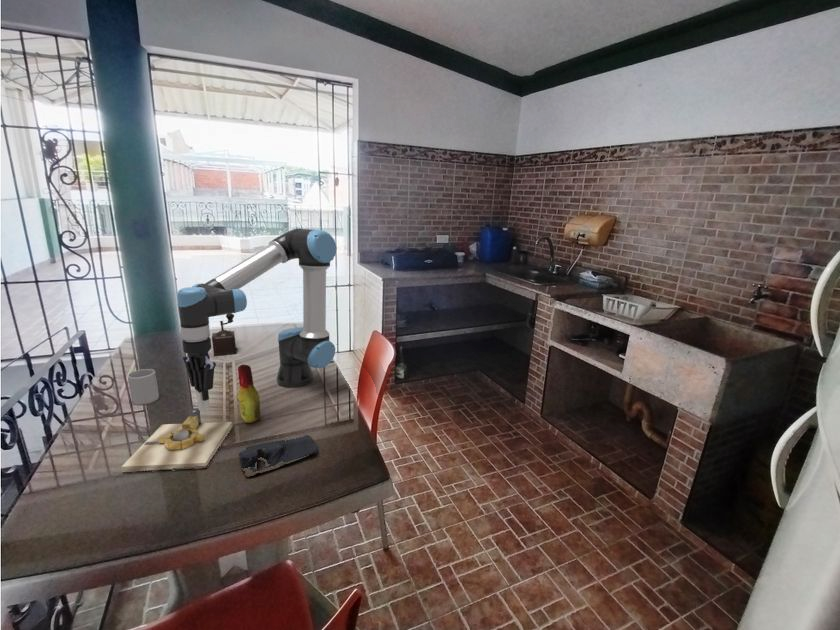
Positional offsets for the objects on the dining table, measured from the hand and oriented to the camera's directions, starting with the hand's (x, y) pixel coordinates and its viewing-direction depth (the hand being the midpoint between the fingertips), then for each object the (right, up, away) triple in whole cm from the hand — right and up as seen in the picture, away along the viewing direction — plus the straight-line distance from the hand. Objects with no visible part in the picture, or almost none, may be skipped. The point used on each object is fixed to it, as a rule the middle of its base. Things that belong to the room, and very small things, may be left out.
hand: (204, 408), depth 125 cm
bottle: (+9, -7, +14) cm, 18 cm away
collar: (-4, -8, -2) cm, 9 cm away
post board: (-4, -11, -4) cm, 13 cm away
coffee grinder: (-31, +12, +77) cm, 84 cm away
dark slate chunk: (+26, -13, -6) cm, 30 cm away
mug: (-36, -2, +26) cm, 44 cm away
